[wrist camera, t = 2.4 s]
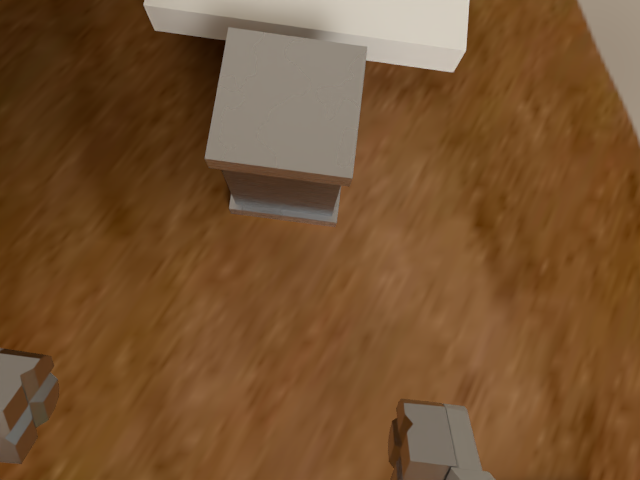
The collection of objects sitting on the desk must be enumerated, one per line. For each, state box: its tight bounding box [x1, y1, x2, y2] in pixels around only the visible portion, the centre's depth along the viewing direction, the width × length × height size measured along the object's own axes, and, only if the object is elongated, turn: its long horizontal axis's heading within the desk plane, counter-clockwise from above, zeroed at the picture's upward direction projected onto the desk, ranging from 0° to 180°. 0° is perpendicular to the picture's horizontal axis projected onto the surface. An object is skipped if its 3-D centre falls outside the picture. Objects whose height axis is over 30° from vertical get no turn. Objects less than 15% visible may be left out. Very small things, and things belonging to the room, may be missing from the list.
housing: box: [205, 27, 367, 227], centre depth 23 cm, size 6×6×8 cm
